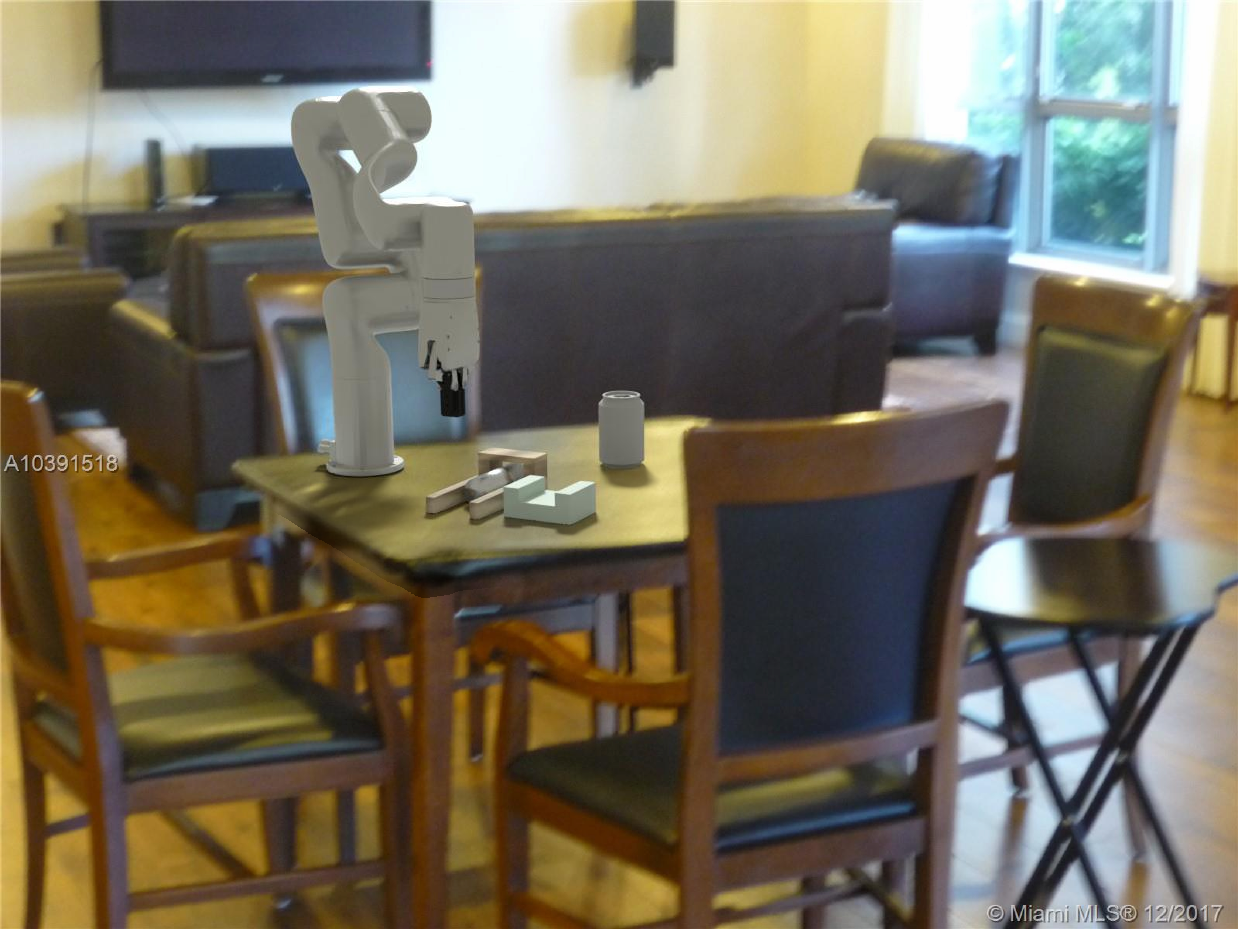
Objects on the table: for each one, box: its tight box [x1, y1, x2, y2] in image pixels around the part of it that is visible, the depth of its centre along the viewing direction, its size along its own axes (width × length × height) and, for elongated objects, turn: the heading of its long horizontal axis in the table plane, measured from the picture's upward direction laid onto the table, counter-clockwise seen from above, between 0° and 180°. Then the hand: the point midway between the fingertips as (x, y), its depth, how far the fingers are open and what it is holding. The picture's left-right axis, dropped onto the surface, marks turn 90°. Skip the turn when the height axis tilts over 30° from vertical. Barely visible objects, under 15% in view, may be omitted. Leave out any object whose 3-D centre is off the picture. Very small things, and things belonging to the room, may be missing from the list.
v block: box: [503, 475, 597, 526], centre depth 251 cm, size 11×8×4 cm
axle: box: [464, 462, 523, 503], centre depth 261 cm, size 12×4×4 cm, turn 154°
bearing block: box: [425, 447, 549, 520], centre depth 258 cm, size 10×20×6 cm, turn 154°
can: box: [598, 390, 645, 470], centre depth 280 cm, size 8×8×12 cm
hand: (453, 415), depth 248 cm, fingers closed
